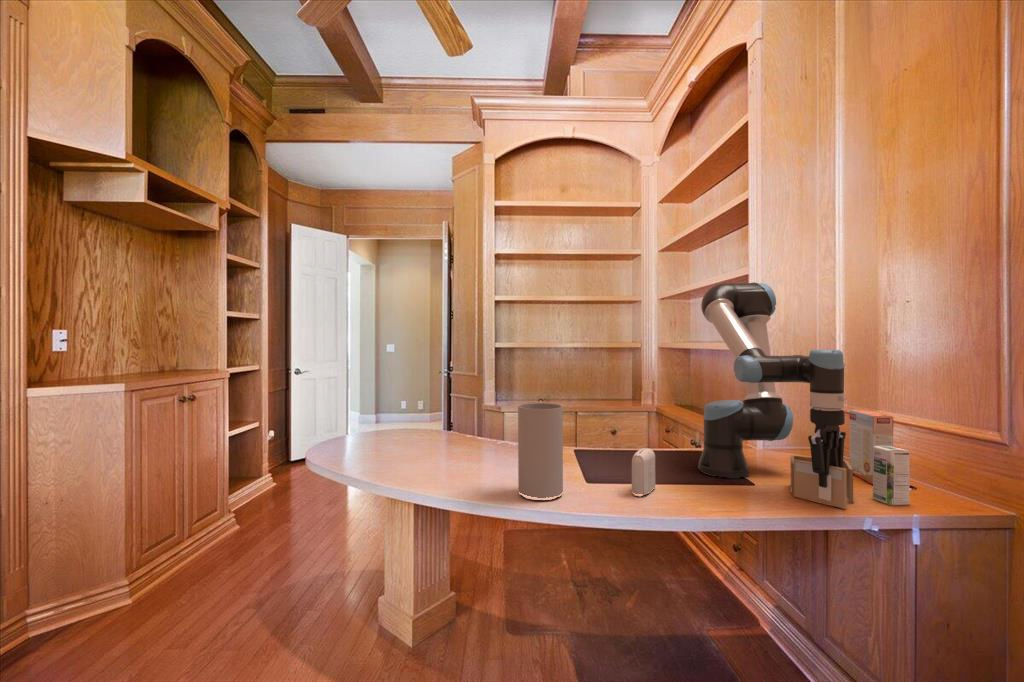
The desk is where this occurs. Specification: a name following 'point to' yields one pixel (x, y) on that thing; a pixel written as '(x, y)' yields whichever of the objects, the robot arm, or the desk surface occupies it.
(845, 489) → the flap
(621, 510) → the desk surface
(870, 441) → the cracker box
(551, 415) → the cylinder vase
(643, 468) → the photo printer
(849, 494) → the carton
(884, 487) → the syrup box
